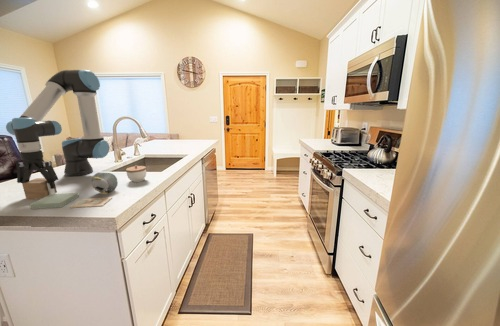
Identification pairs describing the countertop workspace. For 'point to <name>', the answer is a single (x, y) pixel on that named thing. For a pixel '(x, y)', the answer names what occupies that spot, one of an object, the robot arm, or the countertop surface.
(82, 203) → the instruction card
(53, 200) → the base plate
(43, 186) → the walnut cube
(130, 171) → the lidded jar
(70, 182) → the countertop surface
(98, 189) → the decorative toy
